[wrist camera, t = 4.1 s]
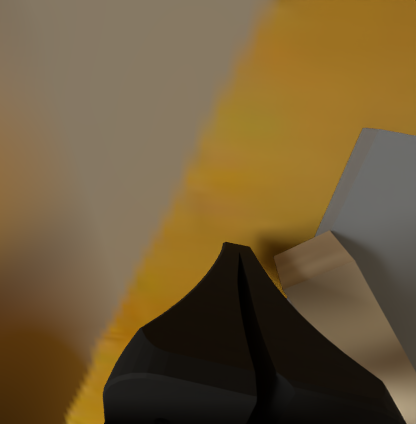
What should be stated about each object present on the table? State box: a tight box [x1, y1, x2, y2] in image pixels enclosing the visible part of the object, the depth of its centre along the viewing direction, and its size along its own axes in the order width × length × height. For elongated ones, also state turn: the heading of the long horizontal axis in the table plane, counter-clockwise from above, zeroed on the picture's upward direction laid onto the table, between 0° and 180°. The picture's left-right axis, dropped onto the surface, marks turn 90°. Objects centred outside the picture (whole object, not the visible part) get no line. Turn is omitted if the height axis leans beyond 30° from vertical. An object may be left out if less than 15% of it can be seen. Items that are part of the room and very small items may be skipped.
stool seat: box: [287, 128, 416, 372], centre depth 13 cm, size 18×14×1 cm
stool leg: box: [274, 230, 416, 424], centre depth 12 cm, size 16×3×2 cm, turn 35°
